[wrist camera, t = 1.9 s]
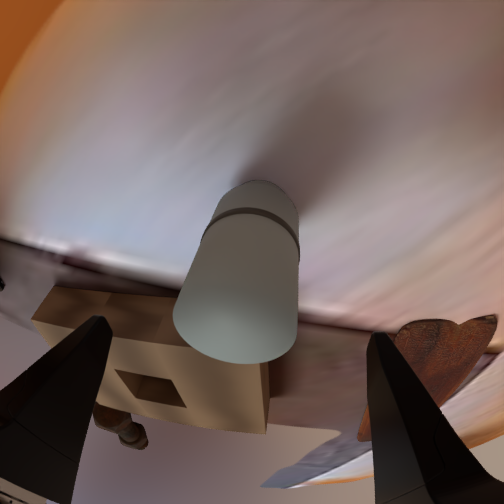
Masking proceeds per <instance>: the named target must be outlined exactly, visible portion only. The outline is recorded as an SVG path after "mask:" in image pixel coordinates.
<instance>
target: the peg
mask: <svg viewBox="0 0 504 504" xmlns="http://www.w3.org/2000/svg"><path fill="white" fill-rule="evenodd" d="M299 261H300V246H299V219H298V213H297V210H296V208H295V206H294V204H293V203H292V201H291V200H290V199H289V198H288V197H287V196H286V195H285V193H284V192H283V191H282V190H281V189H280V188H279V187H278V186H276V185H275V184H273V183H271V182H268V181H263V180H253V181H249V182H246V183H244V184H242V185H241V186H238V187H235V188H233V189H231V190H230V191H228V192H227V193H226V194H225V195H224V196H223V197H222V198H221V200H220V201H219V203H218V205H217V207H216V210H215V212H214V214H213V216H212V219H211V221H210V223H209V224H208V226H207V228H206V229H205V231H204V234H203V236H202V239H201V242H200V246H199V248H198V251H197V253H196V255H195V258H194V260H193V262H192V265H191V267H190V269H189V272H188V274H187V277H186V279H185V281H184V284H183V286H182V289H181V291H180V294H179V296H178V299H177V301H176V304H175V306H174V309H173V321H174V325H175V327H176V329H177V331H178V333H179V334H180V336H181V337H182V338H183V339H184V340H185V341H186V342H187V343H188V344H189V345H190V346H192V347H193V348H195V349H196V350H198V351H199V352H201V353H203V354H205V355H207V356H209V357H212V358H215V359H218V360H221V361H225V362H230V363H237V364H256V363H263V362H267V361H270V360H273V359H276V358H278V357H280V356H281V355H283V354H285V353H286V352H287V351H288V350H289V349H290V348H291V347H292V345H293V344H294V342H295V340H296V336H297V319H298V272H299Z"/></svg>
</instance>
